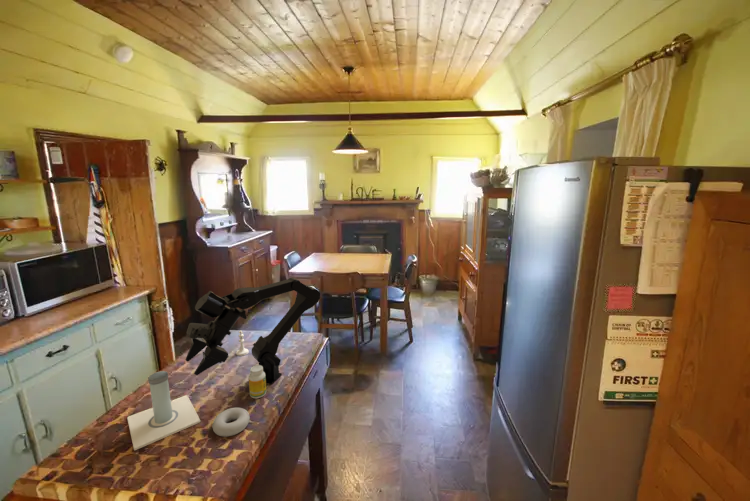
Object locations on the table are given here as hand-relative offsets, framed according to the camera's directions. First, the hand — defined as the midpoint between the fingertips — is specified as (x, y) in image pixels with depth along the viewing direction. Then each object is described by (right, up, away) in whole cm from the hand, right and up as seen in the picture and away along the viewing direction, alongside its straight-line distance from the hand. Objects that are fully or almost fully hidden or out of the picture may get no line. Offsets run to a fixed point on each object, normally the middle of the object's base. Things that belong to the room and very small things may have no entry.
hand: (191, 367), depth 100 cm
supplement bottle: (+18, -12, +9) cm, 23 cm away
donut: (+15, -15, -6) cm, 22 cm away
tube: (-6, -14, -4) cm, 15 cm away
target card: (-6, -14, -4) cm, 16 cm away
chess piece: (+1, -7, +36) cm, 36 cm away
